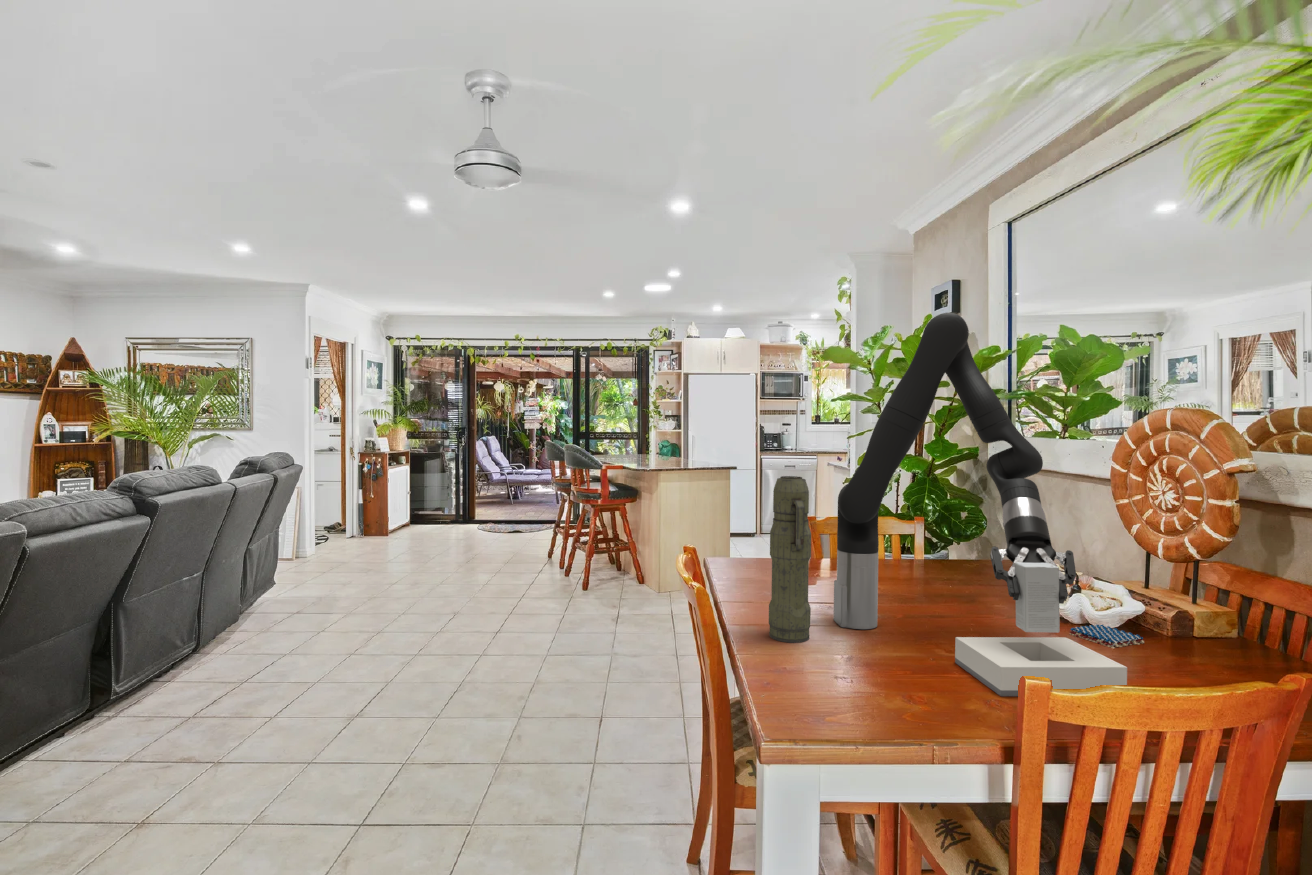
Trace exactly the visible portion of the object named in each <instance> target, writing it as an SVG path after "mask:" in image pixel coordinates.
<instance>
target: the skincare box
mask: <svg viewBox="0 0 1312 875" xmlns="http://www.w3.org/2000/svg"><path fill="white" fill-rule="evenodd" d="M1057 566H1058V565H1057ZM1057 566H1054V565H1052V564H1050V563H1015V572H1016V575H1015V577H1017V583H1018V589H1019V598H1018V600H1015V626H1016V627H1017V628H1019V629H1021V630H1022V631H1023V632H1025V633H1054V634H1055V633H1060V631H1061V630H1060V627H1061V626H1060V603H1059V570H1060V567H1059V566H1058V567H1057Z"/></svg>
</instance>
